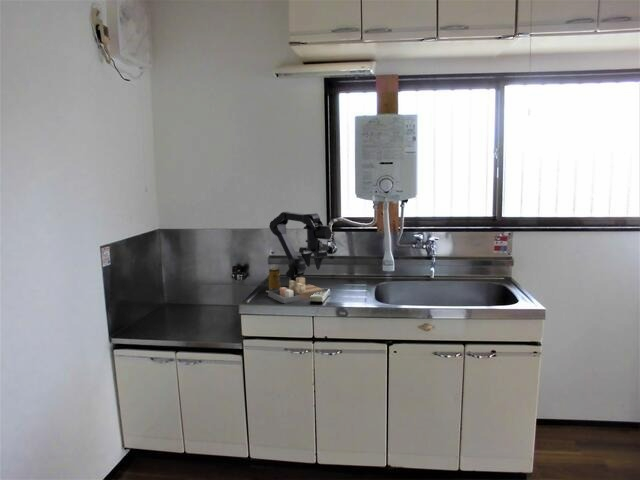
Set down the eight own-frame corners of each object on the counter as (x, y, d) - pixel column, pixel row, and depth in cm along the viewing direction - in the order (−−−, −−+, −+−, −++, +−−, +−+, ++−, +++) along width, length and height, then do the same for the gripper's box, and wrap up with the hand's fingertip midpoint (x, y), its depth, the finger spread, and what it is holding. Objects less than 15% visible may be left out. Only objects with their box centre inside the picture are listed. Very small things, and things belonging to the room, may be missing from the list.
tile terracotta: (284, 294, 227) (279, 295, 226) (284, 286, 227) (279, 287, 225) (288, 296, 224) (283, 297, 223) (287, 288, 224) (283, 289, 222)
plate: (285, 294, 231) (285, 288, 230) (309, 289, 238) (309, 284, 238) (299, 300, 219) (299, 294, 218) (324, 295, 227) (324, 289, 226)
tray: (268, 296, 227) (268, 291, 226) (284, 293, 231) (284, 288, 231) (284, 303, 213) (283, 298, 213) (300, 300, 218) (300, 295, 218)
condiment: (276, 289, 241) (276, 267, 239) (286, 292, 234) (285, 269, 233) (265, 291, 236) (264, 269, 235) (274, 294, 230) (273, 271, 228)
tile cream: (289, 297, 223) (285, 297, 222) (289, 289, 222) (284, 289, 221) (293, 298, 220) (289, 299, 218) (293, 290, 219) (288, 291, 218)
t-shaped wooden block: (289, 288, 230) (288, 276, 229) (297, 286, 233) (297, 275, 232) (301, 293, 220) (301, 280, 219) (310, 291, 223) (309, 279, 222)
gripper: (336, 238, 229) (336, 269, 231) (316, 234, 244) (316, 263, 246) (317, 240, 223) (318, 271, 225) (298, 236, 238) (298, 266, 240)
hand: (313, 268), depth 234 cm, fingers open, 9 cm apart
